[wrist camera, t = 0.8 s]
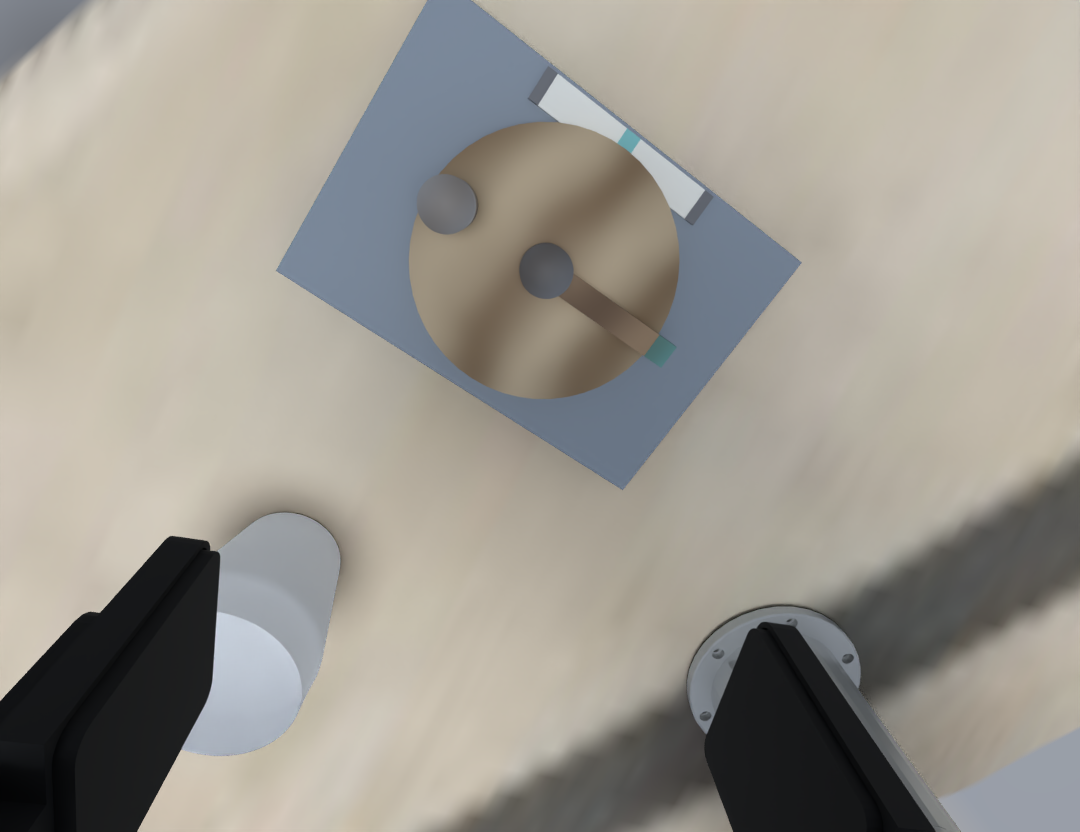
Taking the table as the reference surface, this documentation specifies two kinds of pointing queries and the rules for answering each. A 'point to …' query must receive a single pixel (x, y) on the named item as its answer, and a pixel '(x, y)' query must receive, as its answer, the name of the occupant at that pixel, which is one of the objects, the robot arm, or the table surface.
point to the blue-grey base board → (446, 130)
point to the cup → (267, 632)
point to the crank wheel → (544, 261)
